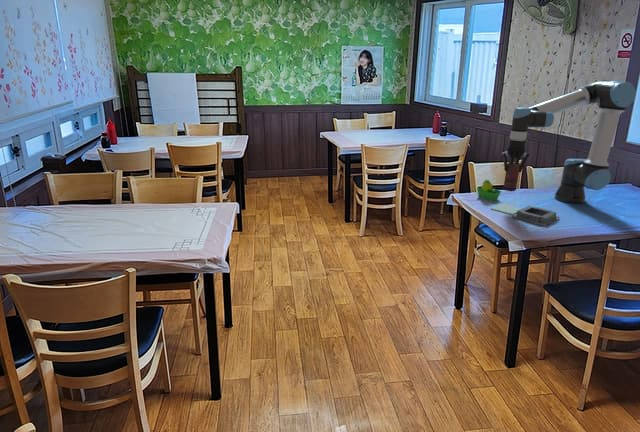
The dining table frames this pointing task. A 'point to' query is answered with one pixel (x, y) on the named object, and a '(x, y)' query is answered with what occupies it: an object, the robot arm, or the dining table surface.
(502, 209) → the mat
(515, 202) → the dining table surface
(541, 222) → the socket block
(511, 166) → the can
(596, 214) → the dining table surface
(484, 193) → the fruit basket
